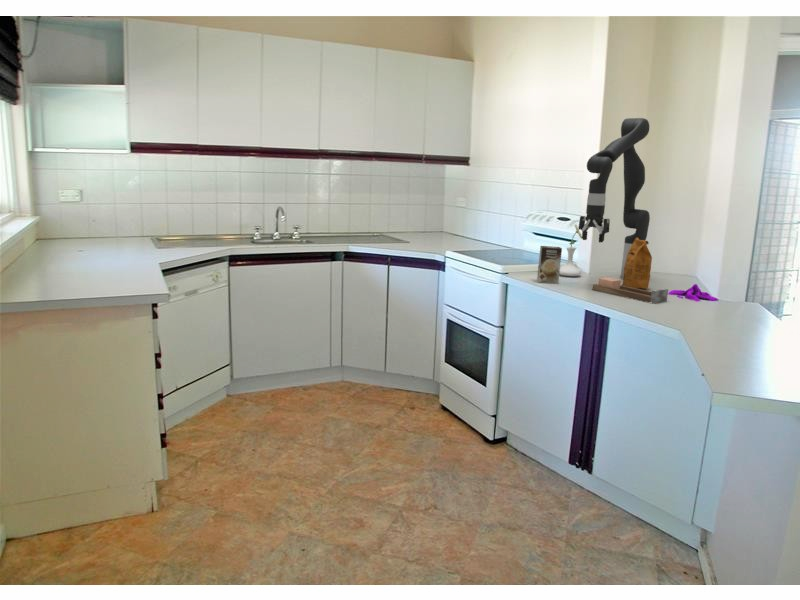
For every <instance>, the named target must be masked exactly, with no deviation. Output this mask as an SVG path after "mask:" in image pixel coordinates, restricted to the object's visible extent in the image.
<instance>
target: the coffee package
mask: <svg viewBox="0 0 800 600" xmlns="http://www.w3.org/2000/svg"><path fill="white" fill-rule="evenodd" d="M648 245H649V241H648V240H639V239H638V238H636V239H635V241H634V242H633V244H632V246H631V248H630V250H629V252H628V254H627V258H626V262H625V266H624V275H623V279H622V284H621V286H626V287H631V288H636V289H641V290H645V289H649V284H650V280H651V271H652V269H651V268H652V260H653V257H652V255H651V252H650V250H649V247H648Z"/></svg>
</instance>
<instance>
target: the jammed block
mask: <svg viewBox="0 0 800 600" xmlns="http://www.w3.org/2000/svg"><path fill="white" fill-rule="evenodd" d="M597 283H598V284H597V285H602V286H607V287H611V288H616V289H620V285H621V286H622V284H621V283H622V279H618V278H612V277H609V276H605V277H600V278H598V282H597Z"/></svg>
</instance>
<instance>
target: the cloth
mask: <svg viewBox="0 0 800 600" xmlns="http://www.w3.org/2000/svg"><path fill="white" fill-rule="evenodd" d="M668 295H669V296H676V297H677V298H679V299H687V300H690V301H694V302H701V300H705V301H708V302H715V301H719V299H718V298H717V297H715V296H711V295H710V294H709V293H708V292H706V291H705V292H704V291H702V290H701V289H700V287H699V286H698V284H697V283H694V284H693V285H692V286H691V287H690V288H688V289H686V290H684V289H683V290H682V289H673V290H670V291H668Z"/></svg>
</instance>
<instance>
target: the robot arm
mask: <svg viewBox="0 0 800 600" xmlns="http://www.w3.org/2000/svg"><path fill="white" fill-rule="evenodd" d="M649 132H650V121H648V119H647V118H643V117H636V118H634V117H631V118H630V117H628V118H625V119H624V120H623V121H622V123H621V126H620V135H621V137H618V138H617V139H615V140H613V141H612V142H610V143H608V145H606V147H605V148H604V149H603V150H600V151H598V152H597V153H595V154H593V155H592V156H591V157H590V158H589V159H588V160H587V162H586V170H587V171H588V172H589V173H591V174H598V177H597V178H593V179H590V181H589V184H588V193H587V194H588V195H587V199H586V200H587V201H586V211H585V214H586V215H580V216H579V223H578V229H579V231H580V230H581V232H582V233H581V236H582V238H581V239H582V240H583V241H587V240H588V230H589V229H590V228H595V229H596V230H598V233H599V235H598V243H603V242H604V241H605V236H606V235H605V234H607V233H609V232H610V220H611V219H610V218H604V215H605V208H606V192H607V184H608V180H609V178H610V175H611V173H612V170H613V167H614V165H613V163H614V162H615V161H617V160H618V159H619V158H620V157H621V156H622V155H623V156H622V157H623V185H624V186H623V187H624V189H623V191H624V192H623V193H624V200H623V211H622V212H623V217H622V218H623V219H622V221H623V222H622V223H623V225H624V227H625V228H627V229H633V230H635V232H634V233H633V234H630V235H626V236H625V237H624V243H623V252H622V261H621V270H620V279H621V280H623V275H624V266H625V262H626V258H627V254H628V252H629V250H630V248H631V246H632V244H633V242H634V241H635V239H636V238H638V239H639V240H645V241H647V237H648V232H649V231H648V230H649V226H650V220H651V219H650V218H651V217H650V212H649V211H648V210H645V209H639V208H638V209H637V208H636V207H635V205H636V199H637V196H638V195H639V193H640V191H641V190H642V189H643V186H644V184H645V181H646V168H645V165H644V162H643V161H642V159H641V158H640V155H638V153H637V150H636V148H635V145H637V143H639V142H641V141H642V140H643V139H645V138H646V137H647V136H648V135H649Z"/></svg>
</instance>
